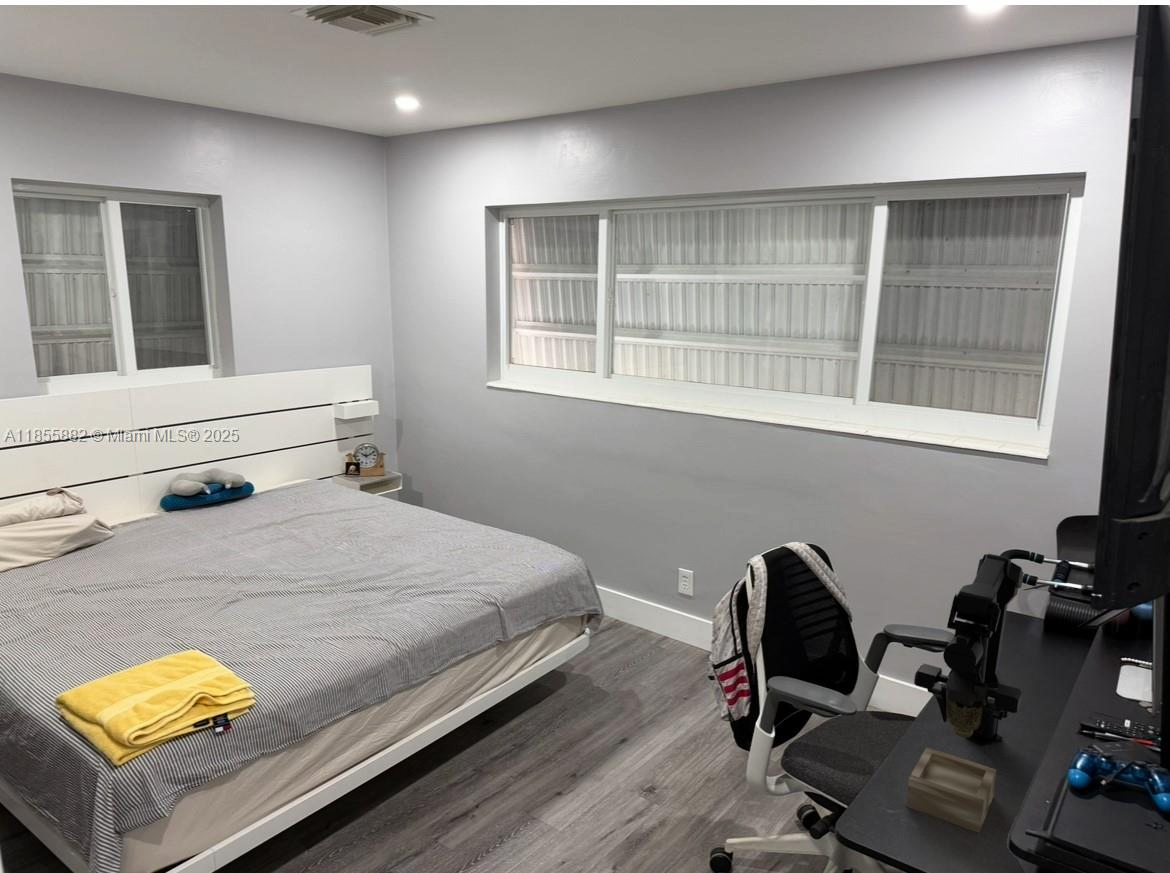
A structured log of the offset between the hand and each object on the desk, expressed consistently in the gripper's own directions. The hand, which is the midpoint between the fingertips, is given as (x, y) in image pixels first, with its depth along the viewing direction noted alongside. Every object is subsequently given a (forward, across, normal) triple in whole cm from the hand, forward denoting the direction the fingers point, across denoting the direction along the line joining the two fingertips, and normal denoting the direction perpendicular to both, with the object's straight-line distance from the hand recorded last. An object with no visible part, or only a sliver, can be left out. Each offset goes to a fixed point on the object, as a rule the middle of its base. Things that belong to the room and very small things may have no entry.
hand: (963, 726), depth 162 cm
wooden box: (+12, 0, -7) cm, 14 cm away
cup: (+2, 0, 0) cm, 2 cm away
